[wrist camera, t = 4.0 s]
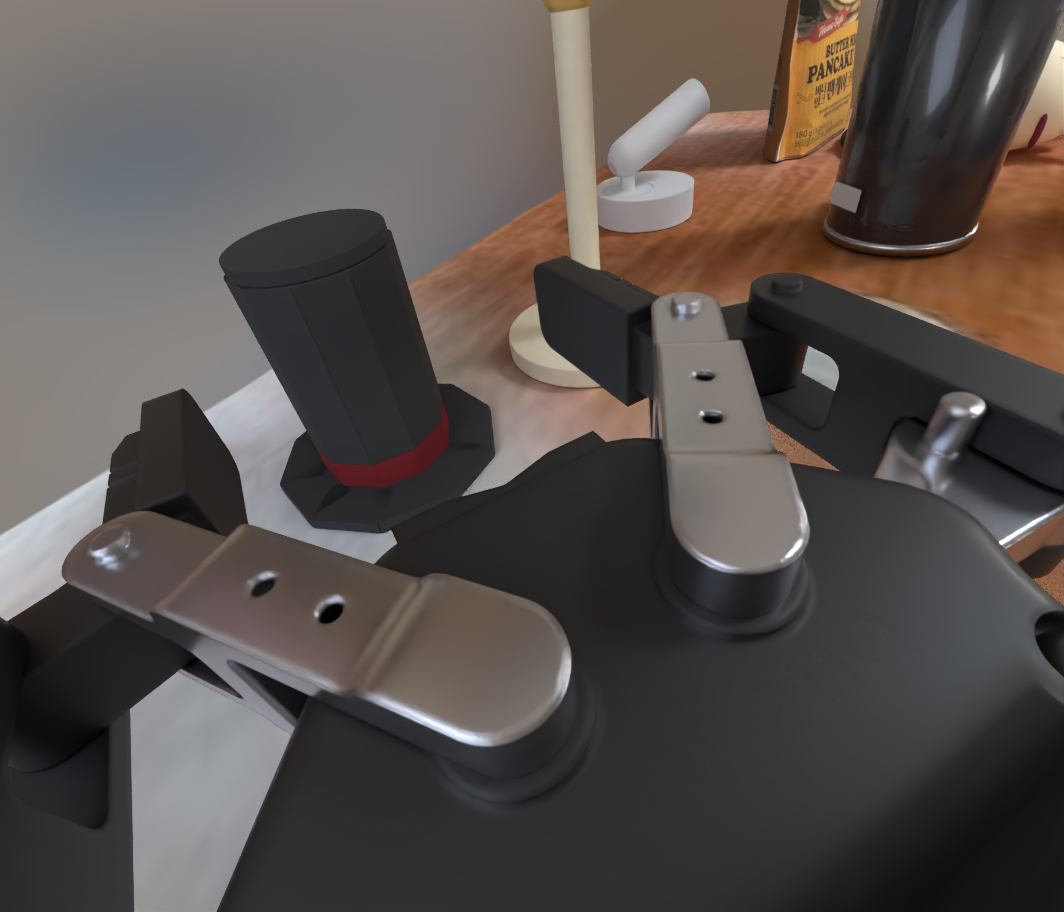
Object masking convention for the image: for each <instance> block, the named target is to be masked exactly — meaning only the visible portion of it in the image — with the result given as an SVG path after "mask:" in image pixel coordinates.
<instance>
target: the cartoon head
mask: <svg viewBox="0 0 1064 912" xmlns="http://www.w3.org/2000/svg"><path fill="white" fill-rule="evenodd" d="M1063 135H1064V42H1061V41H1058V40H1056V41H1055V43H1054V45H1053V48H1052V50H1051V53H1050V55H1049V57H1048V60H1047V62H1046V64H1045V67H1044V69H1043V71H1042V74H1041V76H1040V78H1039V81H1038V83H1037V85H1036V88H1035V90H1034V92H1033V95H1032V97H1031V100H1030V102H1029V104H1028V107H1027V109H1026V111H1025V114H1024V116H1023V118H1022V121H1021V123H1020V125H1019V128H1018V130H1017V132H1016V135H1015V137H1014V139H1013V142H1012V144H1011V147H1010V149H1009V150H1014V149H1019V148H1024V147H1028V148H1029V149H1030V148H1032V147H1033V146H1034V145H1036V144H1040V143H1043V142H1045V141H1048V140H1050V139H1053V138H1055V137H1057V136H1063Z"/></svg>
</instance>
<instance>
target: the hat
mask: <svg viewBox="0 0 1064 912" xmlns="http://www.w3.org/2000/svg"><path fill="white" fill-rule="evenodd" d="M219 263H220V266H221V268H222V269H223V271H224V273H225V276H224V280H225V282H226V284H227V285H228V287H229V289H230V291H231V293H232V295H233V297H234V298H235V300H236V302H237V304H238V306H239V308H240V309H241V311H242V313H243V315H244V317H245V319H246V320H247V322H248V324H249V326H250V328H251V330H252V331H253V333H254V335H255V337H256V339H257V341H258V342H259V344H260V346H261V348H262V350H263V351H264V353H265V355H266V357H267V359H268V361H269V363H270V364H271V366H272V368H273V370H274V372H275V374H276V376H277V377H278V379H279V381H280V383H281V385H282V387H283V388H284V390H285V392H286V394H287V396H288V398H289V399H290V401H291V403H292V405H293V407H294V409H295V410H296V412H297V414H298V416H299V418H300V420H301V421H302V423H303V425H304V427H305V429H306V432H305V433H303V434H302V435H301V436H300V437H298V438H297V439H296V441H295V443H294V445H293V448H292V451H291V454H290V457H289V459H288V462H287V465H286V468H285V471H284V474H283V476H282V479H281V482H280V487H281V488H282V490H283V491H284V493H285V494H286V495H287V497H288V498H289V499H290V500H291V501H292V503H293V504H294V505H295V506H296V508H297V509H298V510H299V511H300V512H301V514H302V515H303V516H304V517H305V519H306V520H307V521H308V522H309V524H310V525H311V526H312V527H314V528H321V529H334V530H346V531H359V532H371V533H381V532H383V533H384V532H386V531H389V530H391V528H390V527H392V526H394V525H396V524H399V523H401V522H403V521H405V520H407V519H409V518H411V517H413V516H415V515H417V514H420V513H422V512H424V511H426V510H428V509H430V508H432V507H434V506H436V505H438V504H441V503H443V502H445V501H448V500H452V499H455V498H459V497H461V495H462V494H463V493H464V492H465V491H466V489H467V488H468V487H469V486H470V485H471V484H472V482H473V481H474V480H475V479H476V478H477V476H478V475H479V474H480V473H481V472H482V470H483V469H484V468H485V467H486V466H487V464H488V463H489V462H490V461H491V460H492V458H493V457H494V455H495V449H494V438H493V428H492V417H491V411H490V407H489V406H488V405H487V404H485V403H483V402H482V401H480V400H478V399H477V398H475V397H473V396H472V395H470V394H468V393H467V392H465V391H463V390H461V389H460V388H458V387H456V386H455V385H453V384H437V381H436V377H435V374H434V371H433V367H432V364H431V361H430V357H429V354H428V351H427V348H426V344H425V341H424V338H423V334H422V331H421V328H420V325H419V321H418V318H417V315H416V311H415V308H414V305H413V301H412V298H411V295H410V292H409V288H408V285H407V282H406V278H405V275H404V272H403V269H402V265H401V262H400V259H399V256H398V252H397V249H396V245H395V242H394V239H393V236H392V232H391V231H390V230H388V229H387V227H386V223H385V220H384V218H383V217H382V216H381V215H380V214H379V213H377V212H374V211H370V210H363V209H340V210H331V211H324V212H318V213H312V214H308V215H303V216H299V217H295V218H292V219H288V220H285V221H281V222H278V223H275V224H272V225H270V226H267V227H264V228H262V229H260V230H257V231H255V232H253V233H251V234H248V235H247V236H245V237H243V238H241V239H239V240H238V241H236V242H235V243H233V244H232V245H231V246H229V247H228V248H227V249H226V250H225V251H224V252H223V253H222V254H221V256H220V258H219Z"/></svg>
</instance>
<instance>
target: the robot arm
mask: <svg viewBox="0 0 1064 912" xmlns="http://www.w3.org/2000/svg"><path fill="white" fill-rule="evenodd" d="M1063 22H1064V0H879V1H878V5H877V9H876V13H875V17H874V22H873V26H872V30H871V34H870V38H869V43H868V47H867V51H866V56H865V60H864V64H863V69H862V72H861V76H860V81H859V85H858V89H857V93H856V98H855V102H854V106H853V110H852V114H851V119H850V123H849V127H848V129H847V130H846V131H845V132H844V133H843V135H842V137H841V140H840V142H841V146H842V148H843V152H842V156H841V161H840V165H839V169H838V173H837V177H836V181H835V184H834V188H833V192H832V196H831V200H830V206H829V211H828V215H827V216H826V217H825V221H824V225H823V233H824V235H825V236H826V237H827V238H828V239H829V240H830V241H832V242H834V243H835V244H837V245H840V246H842V247H845V248H848V249H851V250H855V251H859V252H864V253H870V254H877V255H887V256H923V255H933V254H939V253H944V252H949V251H952V250H955V249H958V248H961V247H963V246H965V245H966V244H968V243H969V242H971V240H972V239H973V237H974V235H975V233H976V230H977V228H978V221H979V219H980V216H981V214H982V212H983V209H984V207H985V204H986V202H987V200H988V197H989V195H990V193H991V190H992V188H993V186H994V183H995V181H996V179H997V177H998V175H999V172H1000V170H1001V168H1002V165H1003V163H1004V161H1005V158H1006V156H1007V154H1008V151H1009V149H1010V147H1011V144H1012V142H1013V139H1014V137H1015V135H1016V132H1017V130H1018V128H1019V125H1020V123H1021V121H1022V118H1023V116H1024V114H1025V111H1026V109H1027V107H1028V104H1029V102H1030V100H1031V97H1032V95H1033V92H1034V90H1035V88H1036V85H1037V83H1038V81H1039V78H1040V76H1041V74H1042V71H1043V69H1044V67H1045V64H1046V62H1047V60H1048V57H1049V55H1050V53H1051V50H1052V48H1053V45H1054V43H1055V41H1056V38H1057V36H1058V34H1059V31H1060V29H1061V27H1062V24H1063ZM534 282H535V290H536V298H537V305H538V313H539V320H540V327H541V331H542V334H543V337H544V339H545V341H546V342H547V344H548V345H549V346H550V347H551V348H552V349H553V350H554V351H556V352H557V353H558V354H559V355H561V356H562V357H563V358H565V359H566V360H567V361H569V362H570V363H571V364H573V365H574V366H575V367H577V368H578V369H579V370H580V371H582V372H583V373H584V374H586V375H587V376H588V377H590V378H591V379H592V380H594V381H595V382H596V383H597V384H599V385H600V386H601V387H603V388H604V389H605V390H607V391H608V392H609V393H611V394H612V395H613V396H615V397H616V398H617V399H618V400H620V401H621V402H622V403H624V404H625V405H626V406H630V405H632V404H634V403H636V402H638V401H641V400H643V399H645V398H647V397H648V398H649V428H650V438H632V439H621V440H615V441H610V442H605V441H604V440H603V439H602V438H601V437H600V436H599V435H597V434H596V433H595V432H594V431H592V432H590V433H587V434H585V435H583V436H581V437H579V438H577V439H575V440H573V441H571V442H569V443H566V444H564V445H562V446H560V447H558V448H556V449H554V450H552V451H550V452H548V453H546V454H545V455H544V456H542V457H541V458H540V459H539V460H537V461H536V462H535V463H533V464H532V465H531V466H529V467H528V468H527V469H525V470H524V471H523V472H522V473H520V474H519V475H518V476H516V477H515V478H514V479H512V480H511V481H510V482H508V483H507V484H505V485H502V486H499V487H496V488H492V489H489V490H485V491H481V492H478V493H474V494H470V495H466V496H463V497H459V498H455V499H452V500H448V501H445V502H443V503H441V504H438V505H436V506H434V507H432V508H430V509H428V510H426V511H424V512H422V513H420V514H417V515H415V516H413V517H411V518H409V519H407V520H405V521H403V522H401V523H399V524H396V525H394V526H392V527H390V528H391V530H392V532H393V534H394V537H395V539H396V541H397V544H396V545H395V546H393V547H392V548H391V549H390V550H388V551H387V552H386V553H385V554H384V555H383V556H382V557H381V558H380V559H379V560H378V561H377V562H376V563H375V564H371V563H368V562H365V561H362V560H359V559H355V558H352V557H349V556H346V555H343V554H340V553H337V552H334V551H330V550H327V549H324V548H321V547H318V546H315V545H312V544H309V543H306V542H302V541H299V540H296V539H293V538H290V537H287V536H284V535H281V534H277V533H274V532H271V531H268V530H265V529H262V528H259V527H256V526H252V525H249V524H248V520H247V515H246V509H245V503H244V497H243V491H242V486H241V480H240V474H239V471H238V468H237V465H236V463H235V461H234V459H233V457H232V455H231V453H230V452H229V450H228V448H227V447H226V445H225V444H224V442H223V441H222V440H221V438H220V437H219V435H218V434H217V432H216V431H215V429H214V428H213V426H212V425H211V424H210V422H209V421H208V419H207V418H206V416H205V415H204V413H203V412H202V410H201V409H200V408H199V406H198V405H197V403H196V402H195V400H194V399H193V398H192V396H191V395H190V394H189V393H188V392H187V391H186V390H184V389H180V390H178V391H175V392H172V393H169V394H166V395H163V396H160V397H158V398H155V399H152V400H149V401H146V402H143V403H142V412H141V425H140V431H138V432H135V433H132V434H129V435H127V436H125V438H124V439H123V441H122V442H121V443H120V444H119V446H118V447H117V449H116V450H115V451H114V453H113V454H112V458H111V466H110V472H111V474H109V480H108V486H109V488H107V494H106V501H105V509H104V516H103V523H102V525H101V526H99V527H98V528H96V529H94V530H93V531H92V532H90V533H89V534H87V535H86V536H85V537H84V538H83V539H82V540H80V541H79V542H78V543H77V544H76V545H75V546H74V547H73V549H72V550H71V551H70V553H69V554H68V555H67V557H66V559H65V561H64V563H63V566H62V577H63V578H64V580H65V581H66V582H67V583H66V584H64V585H63V586H62V587H60V588H59V589H57V590H56V591H55V592H53V593H52V594H50V595H48V596H47V597H45V598H44V599H42V600H40V601H39V602H37V603H36V604H34V605H32V606H31V607H29V608H28V609H26V610H25V611H23V612H21V613H20V614H18V615H17V616H15V617H13V618H12V619H10V620H9V621H6V620H4V619H3V618H1V617H0V912H134V881H133V831H132V781H131V731H130V708H131V707H133V706H134V705H135V704H137V703H138V702H139V701H140V700H142V699H143V698H144V697H145V696H147V695H148V694H149V693H151V692H152V691H153V690H154V689H156V688H157V687H158V686H160V685H161V684H162V683H163V682H165V681H166V680H167V679H168V678H170V677H171V676H172V675H174V674H175V673H176V672H177V671H178V672H179V673H181V674H182V675H184V676H186V677H188V678H190V679H192V680H194V681H196V682H198V683H200V684H202V685H203V686H205V687H207V688H209V689H211V690H213V691H215V692H217V693H219V694H221V695H223V696H225V697H227V698H229V699H231V700H233V701H235V702H237V703H239V704H241V705H243V706H245V707H247V708H249V709H251V710H253V711H254V712H256V713H258V714H260V715H261V716H263V717H264V718H266V719H267V720H269V721H270V722H272V723H273V724H275V725H276V726H277V727H279V728H280V729H282V730H283V731H285V732H286V733H288V734H290V735H291V738H290V740H289V743H288V745H287V747H286V750H285V752H284V754H283V757H282V759H281V761H280V764H279V766H278V768H277V771H276V773H275V775H274V778H273V780H272V783H271V785H270V787H269V790H268V792H267V794H266V797H265V799H264V801H263V804H262V806H261V808H260V811H259V813H258V816H257V818H256V820H255V823H254V825H253V827H252V830H251V832H250V834H249V837H248V839H247V841H246V844H245V846H244V848H243V851H242V853H241V856H240V858H239V860H238V863H237V865H236V867H235V870H234V872H233V874H232V877H231V879H230V881H229V884H228V886H227V889H226V891H225V893H224V896H223V898H222V900H221V903H220V905H219V907H218V910H217V912H1064V606H1063V605H1062V604H1060V603H1059V602H1058V601H1057V600H1055V599H1054V598H1053V597H1052V596H1051V595H1049V594H1048V593H1047V592H1046V591H1045V590H1044V589H1043V588H1042V587H1041V586H1039V585H1038V584H1037V583H1036V582H1035V581H1034V580H1033V579H1034V578H1040V577H1043V576H1045V575H1047V574H1049V573H1050V572H1051V571H1052V570H1053V569H1054V568H1055V567H1056V566H1057V565H1058V564H1059V562H1060V561H1061V560H1062V559H1063V558H1064V375H1063V374H1060V373H1058V372H1055V371H1052V370H1050V369H1047V368H1045V367H1042V366H1039V365H1037V364H1034V363H1032V362H1029V361H1026V360H1024V359H1021V358H1019V357H1016V356H1014V355H1011V354H1008V353H1006V352H1003V351H1001V350H998V349H995V348H993V347H990V346H988V345H985V344H982V343H980V342H977V341H975V340H972V339H970V338H967V337H964V336H962V335H959V334H957V333H954V332H951V331H949V330H946V329H944V328H941V327H939V326H936V325H933V324H931V323H928V322H926V321H923V320H920V319H918V318H915V317H913V316H910V315H907V314H905V313H902V312H900V311H897V310H895V309H892V308H889V307H887V306H884V305H882V304H879V303H876V302H874V301H871V300H869V299H866V298H863V297H861V296H858V295H856V294H853V293H851V292H848V291H845V290H843V289H840V288H838V287H835V286H832V285H830V284H827V283H825V282H822V281H820V280H817V279H814V278H812V277H809V276H806V275H802V274H796V273H774V274H768V275H764V276H761V277H759V278H757V279H755V280H754V281H753V282H752V284H751V287H750V294H749V300H748V302H746V303H741V304H736V305H731V306H726V307H721V308H720V304H719V302H718V301H717V300H716V299H715V298H713V297H711V296H709V295H706V294H702V293H696V292H678V293H672V294H668V295H665V296H662V297H659V296H657V295H655V294H652V293H650V292H648V291H646V290H644V289H642V288H640V287H638V286H636V285H632V283H630V282H628V281H626V280H624V279H622V280H621V278H620V277H618V276H616V275H614V274H612V273H610V272H608V271H603V270H598V269H592V268H589V267H587V266H585V265H583V264H581V263H579V262H577V261H575V260H573V259H571V258H569V257H567V256H561V257H558V258H555V259H552V260H550V261H547V262H544V263H541V264H538V265H536V267H535V269H534ZM808 346H810V347H812V348H814V349H816V350H818V351H820V352H822V353H824V354H826V355H828V356H830V357H831V358H832V359H833V360H834V361H835V363H836V364H837V366H838V369H839V380H838V383H837V386H836V390H835V391H833V390H831V389H829V388H828V387H826V386H824V385H822V384H820V383H819V382H817V381H815V380H813V379H811V378H810V377H808V376H806V375H804V374H802V373H801V372H802V368H803V364H804V360H805V356H806V352H807V348H808ZM766 420H767V421H768V422H769V423H771V424H772V425H774V426H775V427H777V428H778V429H780V430H781V431H783V432H784V433H786V434H787V435H789V436H790V437H792V438H793V439H795V440H796V441H798V442H799V443H800V444H802V445H803V446H805V447H806V448H808V449H809V450H811V451H812V452H814V453H815V454H817V455H818V456H820V457H821V458H823V459H824V460H826V461H827V462H828V463H830V464H831V465H833V466H834V467H836V468H837V469H839V470H840V471H835V470H830V469H824V468H819V467H813V466H808V465H802V464H796V463H791V462H789V460H788V458H787V456H786V455H785V454H784V453H783V452H778V451H777V450H776V449H775V447H774V444H773V440H772V437H771V434H770V430H769V427H768V424H767V421H766ZM841 471H842V472H841Z"/></svg>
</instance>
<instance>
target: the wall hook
mask: <svg viewBox="0 0 1064 912" xmlns="http://www.w3.org/2000/svg"><path fill="white" fill-rule="evenodd" d="M709 111H710V101H709V97H708V94H707V92H706V90H705V88H704V87H703V85H702V84H701V83H700V82H699V81H697V80H695V79H689V80H688V81H687V82H685V83H684V84H683V85H682V86H681V87H679V88H678V89H677V90H676V91H675V92H674V93H672V94H671V95H670V96H669V97H667V98H666V99H665V100H664V101H663V102H661V103H660V104H659V105H658V106H657V107H655V108H654V109H653V110H652V111H651V112H649V113H648V114H647V115H646V116H645V117H644V118H642V119H641V120H640V121H639V122H637V123H636V124H635V125H634V126H633V127H631V128H630V129H629V130H628V131H627V132H625V133H624V134H623V135H622V136H621V137H620V138H618V139H617V140H616V141H615V142H614V143H613V145H612V146H611V148H610V150H609V153H608V158H607V163H608V167H609V169H610V170H611V172H612V173H613V174H614V175H616V177H613V178H610V179H608V180H606V181H604V182H602V183H600V184H599V185H598V186H597V209H598V225H600V226H601V227H603V228H605V229H608V230H612V231H617V232H630V233H635V232H650V231H656V230H662V229H666V228H670V227H673V226H676V225H678V224H680V223H682V222H684V221H686V220H687V219H688V218H689V217H690V216H691V215H692V207H693V193H694V179H693V178H692V177H691V176H689V175H687V174H684V173H680V172H675V171H642V172H637V171H639V170H640V169H641V168H642V167H644V166H645V165H646V164H647V163H649V162H650V161H651V160H652V159H653V158H655V157H656V156H657V155H658V154H660V153H661V152H662V151H663V150H664V149H666V148H667V147H668V146H669V145H670V144H672V143H673V142H674V141H675V140H677V139H678V138H679V137H680V136H681V135H683V134H684V133H685V132H686V131H688V130H689V129H690V128H691V127H692V126H694V125H695V124H696V123H697V122H698V121H700V120H701V119H702V118H703V117H705V116H706V115H707V114H708V113H709Z"/></svg>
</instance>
